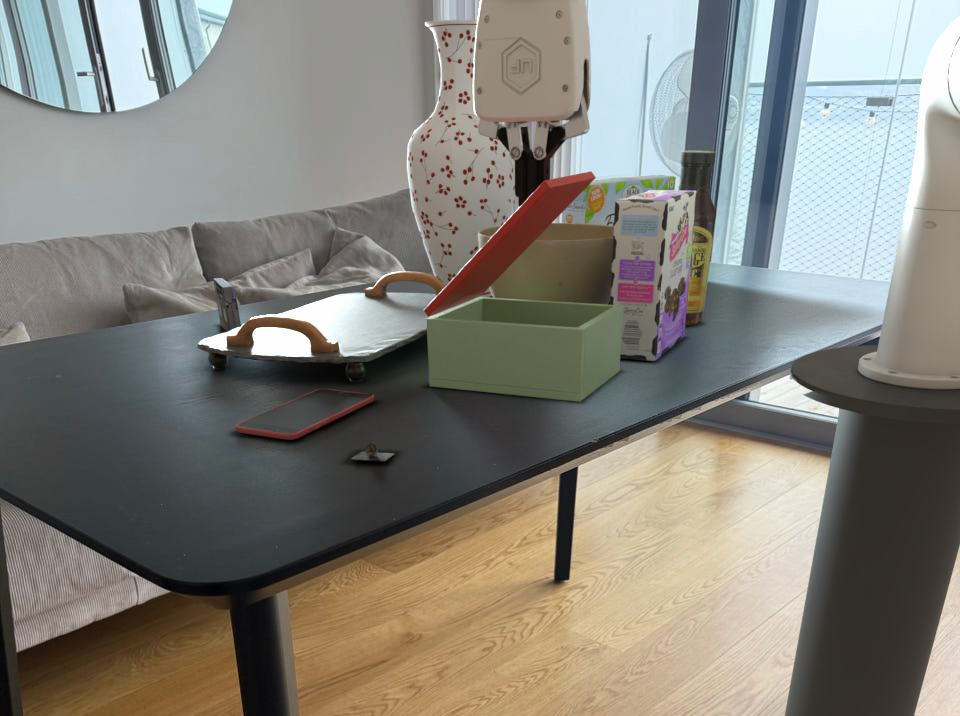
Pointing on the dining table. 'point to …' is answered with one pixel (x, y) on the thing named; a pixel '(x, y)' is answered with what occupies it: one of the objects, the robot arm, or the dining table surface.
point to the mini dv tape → (226, 304)
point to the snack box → (611, 197)
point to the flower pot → (559, 265)
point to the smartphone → (304, 414)
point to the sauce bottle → (698, 227)
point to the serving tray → (333, 328)
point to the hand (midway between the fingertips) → (532, 205)
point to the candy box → (652, 269)
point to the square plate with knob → (372, 454)
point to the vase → (457, 162)
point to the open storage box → (525, 347)
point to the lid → (511, 240)
